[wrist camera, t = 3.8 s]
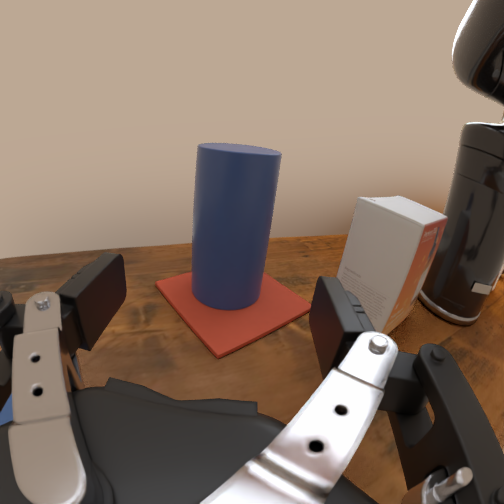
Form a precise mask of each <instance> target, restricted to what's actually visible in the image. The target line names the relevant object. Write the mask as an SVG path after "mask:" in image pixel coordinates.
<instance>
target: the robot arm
mask: <svg viewBox="0 0 504 504" xmlns="http://www.w3.org/2000/svg"><path fill="white" fill-rule="evenodd" d="M452 64H453V69H454V71H455V74H456V76H457V78H458V79H459V80H460V81H461V82H462V84H464V85H465V86H466V87H468V88H469V89H471V90H473V91H474V92H476V93H478V94H480V95H482V96H484V97H486V98H488V99H490V100H492V101H494V102H496V103H498V104H500V105H502V106H504V0H473V2H472V4H471V6H470V8H469V9H468V11H467V13H466V15H465V17H464V19H463V20H462V23H461V24H460V27H459V29H458V31H457V34H456V37H455V40H454V44H453V50H452ZM443 215H445V216H447V217H448V219H447V223H446V226H445V229H444V232H443V235H442V238H441V240H440V243H439V246H438V249H437V252H436V254H435V257H434V259H433V262H432V264H431V266H430V269H429V272H428V274H427V276H426V279H425V281H424V284H423V286H422V288H421V290H420V292H419V295H418V297H419V299H420V300H421V301H422V303H423V304H424V305H425V306H426V307H427V308H428V309H430V310H431V311H432V312H433V313H435V314H436V315H438V316H440V317H441V318H443V319H445V320H447V321H449V322H452V323H455V324H459V325H471V324H473V323H475V322H476V320H477V318H478V317H479V315H480V312H481V310H482V308H483V306H484V304H485V302H486V300H487V298H488V296H489V294H490V292H491V290H492V288H493V286H494V284H495V282H496V280H497V277H498V275H499V273H500V271H501V268H502V266H503V264H504V112H503V117H502V121H501V122H500V123H494V124H493V123H481V122H470V123H467V124H465V125H464V126H463V128H462V130H461V135H460V141H459V148H458V154H457V159H456V164H455V168H454V173H453V178H452V182H451V186H450V190H449V194H448V198H447V202H446V205H445V209H444V212H443ZM126 291H127V289H126V280H125V270H124V260H123V257H122V255H121V254H114V253H106V252H105V253H103V254H102V255H101V256H100V257H98V258H97V259H96V260H95V261H94V262H92V263H90V264H88V265H86V266H84V267H83V268H81V269H80V270H79V271H78V272H77V274H75V275H74V276H72V277H71V279H69V280H68V281H67V282H66V283H65V284H64V285H63V286H61V287H60V288H59V289H58V290H57V291H56V292H55V293H54V292H41V293H38V294H35V295H34V296H32V297H31V298H30V299H29V300H28V301H27V303H26V304H14V301H13V297H12V294H11V293H10V292H8V291H0V346H1V348H2V350H1V351H0V413H1V411H2V409H3V407H4V405H5V404H6V402H7V400H8V399H9V397H10V395H11V394H12V407H13V420H12V421H9V422H7V423H5V424H2V425H0V504H379V503H377V502H376V501H375V500H373V499H372V498H371V497H369V496H368V495H367V494H366V493H364V492H363V491H362V490H361V489H359V488H358V487H357V486H356V485H354V484H353V483H352V482H351V481H350V480H348V479H347V478H346V477H345V476H344V475H342V473H343V471H344V470H345V468H346V467H347V465H348V463H349V462H350V460H351V458H352V456H353V455H354V453H355V451H356V449H357V448H358V446H359V444H360V442H361V440H362V439H363V437H364V435H365V433H366V431H367V429H368V427H369V425H370V423H371V421H372V419H373V417H374V415H375V413H376V411H377V410H383V411H387V413H388V416H389V420H390V423H391V427H392V430H393V434H394V437H395V441H396V445H397V448H398V452H399V456H400V460H401V464H402V468H403V472H404V476H405V481H406V485H407V490H408V492H407V493H406V494H405V495H404V497H403V499H402V502H401V504H504V454H503V451H502V449H501V447H500V444H499V442H498V440H497V438H496V435H495V433H494V431H493V429H492V427H491V425H490V423H489V421H488V419H487V417H486V415H485V413H484V411H483V409H482V407H481V405H480V403H479V401H478V399H477V398H476V396H475V394H474V392H473V390H472V389H471V387H470V385H469V383H468V382H467V380H466V378H465V376H464V375H463V373H462V371H461V370H460V368H459V366H458V365H457V363H456V362H455V360H454V358H453V357H452V355H451V354H450V353H449V352H448V351H447V350H446V349H445V348H443V347H441V346H439V345H436V344H425V345H423V346H422V347H421V348H420V350H419V352H418V354H417V355H416V354H411V353H406V352H401V351H398V347H397V344H396V343H395V342H394V340H393V339H391V338H390V337H389V336H387V335H385V334H383V333H380V332H376V330H375V329H374V327H373V325H372V323H371V321H370V319H369V318H368V316H367V314H366V313H365V310H364V309H363V307H362V305H361V303H360V301H359V300H358V298H357V297H356V296H355V295H354V294H352V293H351V292H350V291H347V290H344V288H343V286H342V284H341V282H340V281H339V279H338V278H334V277H323V276H320V277H319V278H318V280H317V283H316V288H315V292H314V296H313V300H312V304H311V308H310V313H309V324H310V328H311V332H312V336H313V340H314V344H315V348H316V352H317V356H318V360H319V364H320V368H321V372H322V377H323V382H322V383H321V385H320V386H319V387H318V389H317V390H316V391H315V392H314V394H313V395H312V396H311V397H310V399H309V400H308V401H307V402H306V404H305V405H304V406H303V407H302V408H301V410H300V411H299V412H298V413H297V414H296V415H295V417H294V418H293V419H292V420H291V421H290V422H289V424H288V425H285V424H284V423H282V422H281V421H278V420H276V419H274V418H272V417H269V416H267V415H264V414H261V413H257V402H252V401H239V400H228V399H219V398H218V399H204V400H182V401H181V400H175V399H172V398H169V397H167V396H165V395H162V394H160V393H158V392H156V391H153V390H151V389H149V388H147V387H145V386H142V385H138V384H134V383H130V382H126V381H122V380H118V379H115V378H111V377H109V379H108V381H107V383H106V385H105V387H90V388H85V385H84V381H83V377H82V372H81V368H80V364H79V359H78V355H77V353H76V351H77V349H78V348H81V349H84V350H88V351H91V349H92V347H93V346H94V344H95V343H96V341H97V340H98V338H99V337H100V335H101V334H102V332H103V331H104V329H105V328H106V327H107V325H108V324H109V322H110V321H111V319H112V318H113V316H114V315H115V314H116V312H117V311H118V309H119V308H120V307H121V305H122V304H123V302H124V300H125V297H126ZM428 402H430V404H431V407H432V409H433V411H434V415H435V420H434V424H432V422H431V419H430V417H429V414H428V412H427V409H426V407H425V406H426V404H427V403H428Z"/></svg>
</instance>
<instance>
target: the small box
mask: <svg viewBox="0 0 504 504" xmlns="http://www.w3.org/2000/svg"><path fill="white" fill-rule="evenodd" d="M447 219H448V217H447V216H445V215H443V214H441V213H439V212H437V211H434V210H432V209H430V208H428V207H425V206H423V205H421V204H419V203H416V202H414V201H411V200H409V199H407V198H404V197H402V196H395V197H377V198H366V197H359V198H357V203H356V207H355V211H354V216H353V219H352V224H351V228H350V231H349V235H348V239H347V242H346V246H345V249H344V253H343V256H342V260H341V263H340V267H339V270H338V273H337V277H336V278H338V279H339V281H340V282H341V284H342V286H343V288H344V290H347V291H350V292H351V293H352V294H354V295H355V296H356V297H357V298H358V300H359V301H360V303H361V305H362V307H363V309H364V310H365V313H366V314H367V316H368V318H369V319H370V321H371V323H372V325H373V327H374V329H375V330H376V332H380V333H383V334H385V335H388V334H389V333H390V332H391V331H392V330H393V329H394V328H395V327H396V326H398V325H399V324H400V323H401V322H402V321H403V320H404V319H405V318H406V317H407V316H408V315H409V314H410V312H411V310H412V307H413V305H414V303H415V301H416V299H417V297H418V295H419V292H420V290H421V288H422V286H423V284H424V281H425V279H426V276H427V274H428V272H429V269H430V266H431V264H432V262H433V259H434V257H435V254H436V252H437V249H438V246H439V243H440V240H441V238H442V235H443V232H444V229H445V226H446V223H447Z"/></svg>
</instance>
